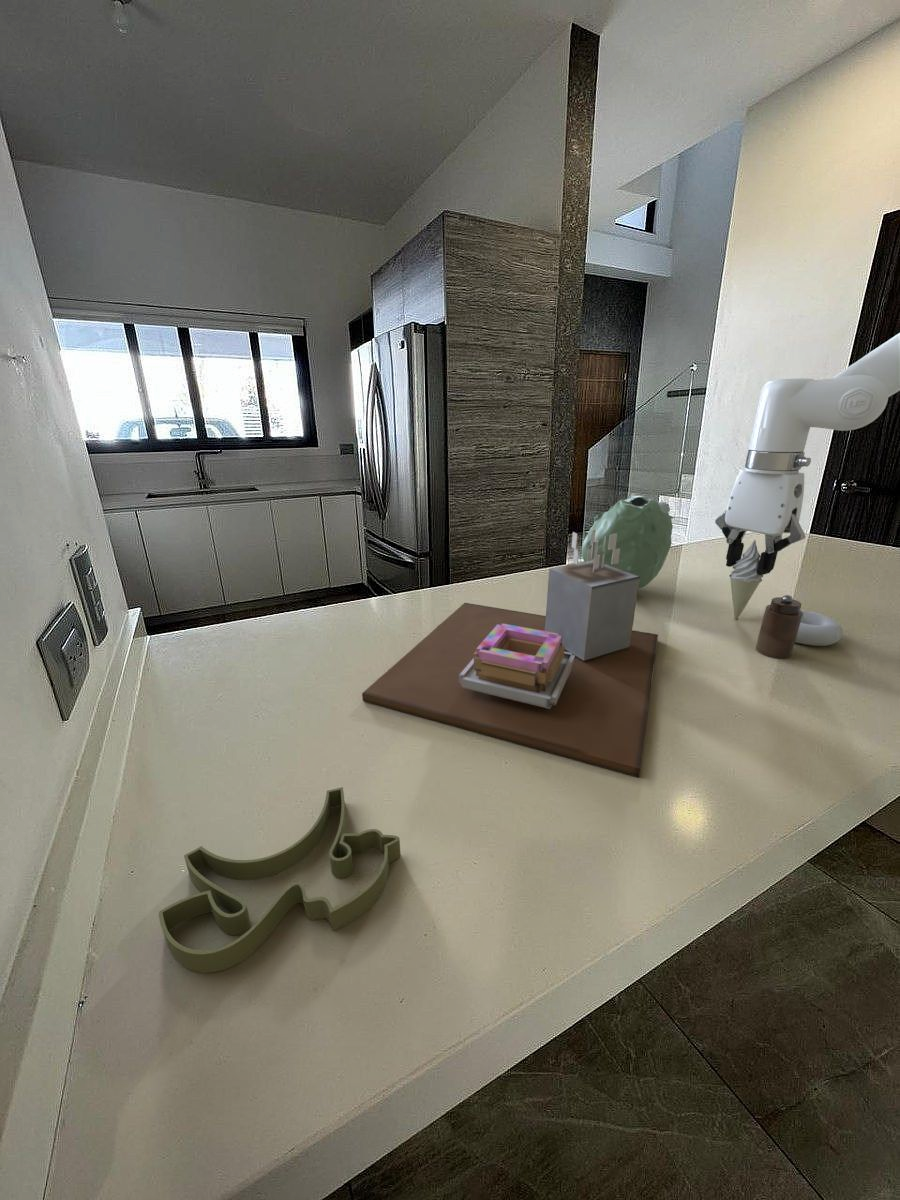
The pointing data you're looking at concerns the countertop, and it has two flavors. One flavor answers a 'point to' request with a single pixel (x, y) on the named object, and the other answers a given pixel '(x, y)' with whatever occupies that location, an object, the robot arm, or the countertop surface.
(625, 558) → the green ceramic vase
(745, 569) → the ice cream cone
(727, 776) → the countertop surface
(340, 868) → the cookie cutter
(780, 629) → the pepper mill
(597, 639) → the brown serving board set
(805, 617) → the donut
